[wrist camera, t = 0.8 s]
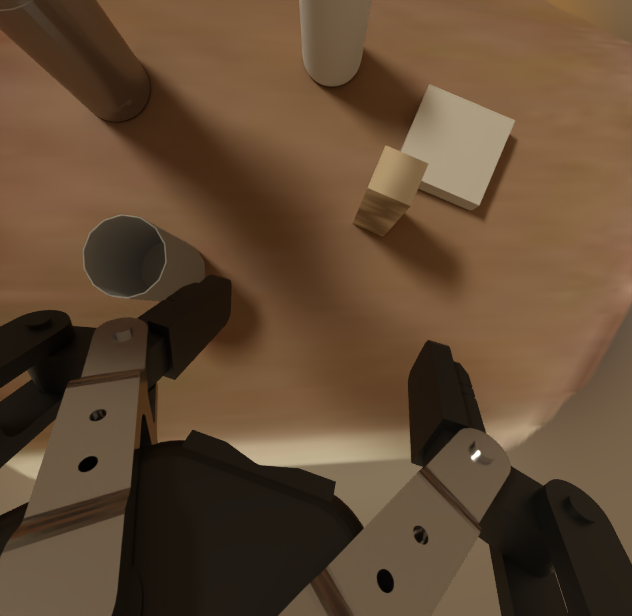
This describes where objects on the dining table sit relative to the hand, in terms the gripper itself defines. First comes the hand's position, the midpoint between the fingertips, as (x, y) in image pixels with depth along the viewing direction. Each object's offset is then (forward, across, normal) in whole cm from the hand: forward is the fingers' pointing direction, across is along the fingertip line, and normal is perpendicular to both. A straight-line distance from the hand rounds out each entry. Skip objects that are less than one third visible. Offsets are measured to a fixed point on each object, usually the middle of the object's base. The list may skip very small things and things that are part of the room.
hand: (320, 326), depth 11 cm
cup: (+21, +23, +14) cm, 34 cm away
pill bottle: (+41, +11, -14) cm, 44 cm away
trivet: (+38, -8, -6) cm, 39 cm away
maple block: (+31, -1, +2) cm, 31 cm away
